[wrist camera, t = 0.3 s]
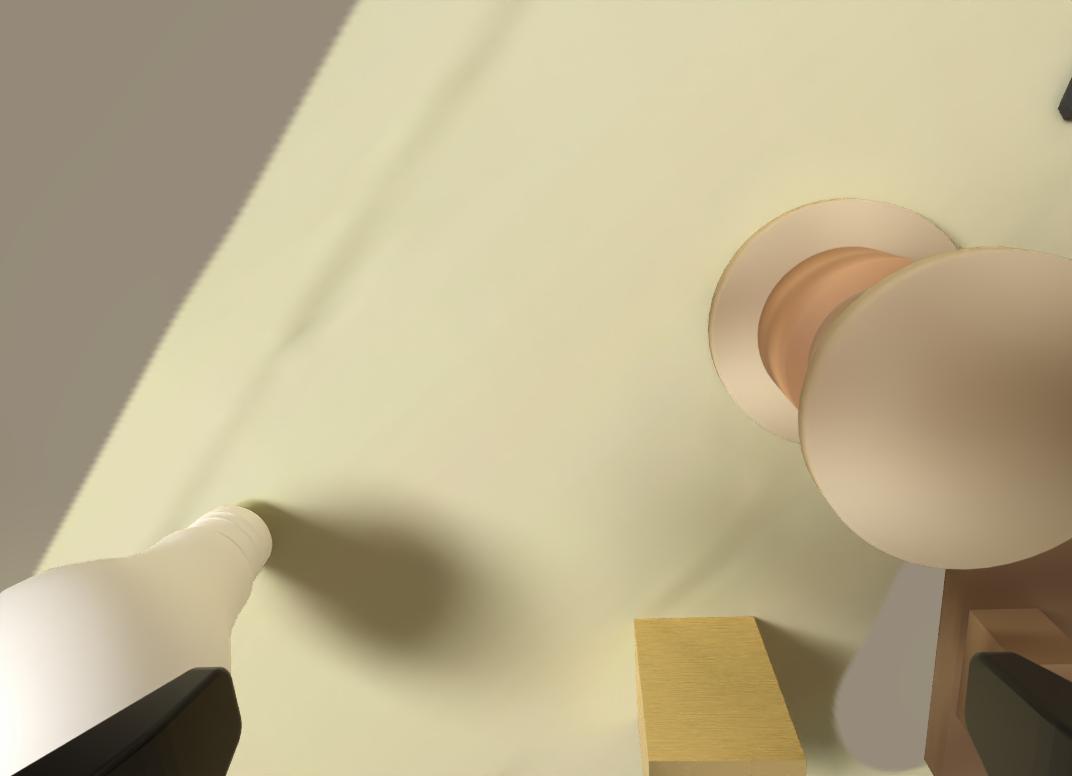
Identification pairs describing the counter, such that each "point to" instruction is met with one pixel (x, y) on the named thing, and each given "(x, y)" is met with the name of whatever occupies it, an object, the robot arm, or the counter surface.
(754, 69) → the counter surface
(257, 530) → the lightbulb
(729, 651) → the tan block
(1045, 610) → the notch board
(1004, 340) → the bobbin
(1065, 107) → the chef's knife
